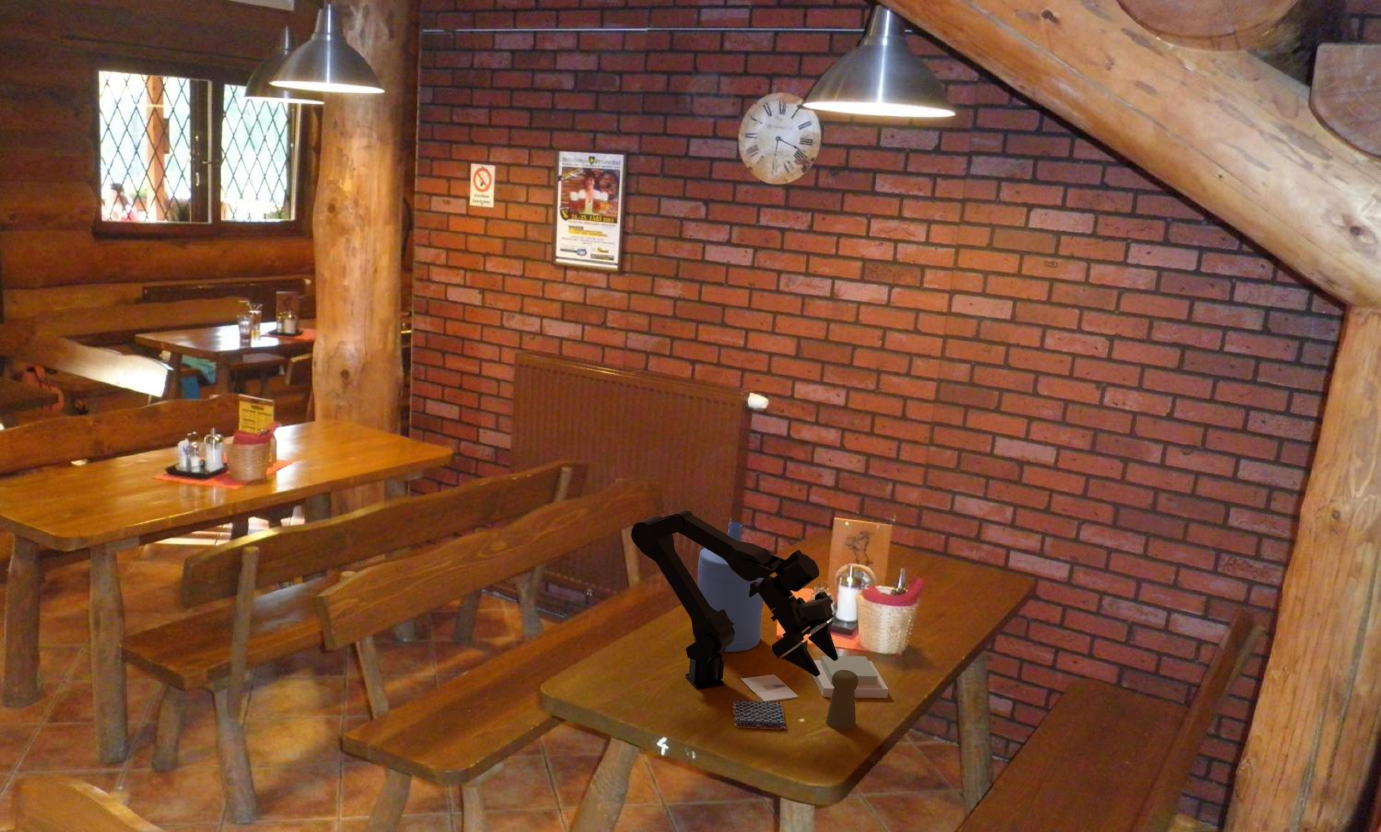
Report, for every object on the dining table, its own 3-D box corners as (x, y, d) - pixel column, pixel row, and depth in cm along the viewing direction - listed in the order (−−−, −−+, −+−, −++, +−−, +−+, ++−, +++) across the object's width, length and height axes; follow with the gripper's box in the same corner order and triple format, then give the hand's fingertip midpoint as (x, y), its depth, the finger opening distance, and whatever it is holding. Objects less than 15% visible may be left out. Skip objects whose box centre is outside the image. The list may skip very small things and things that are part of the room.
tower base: (822, 696, 247) (824, 679, 247) (809, 668, 261) (810, 651, 260) (887, 697, 249) (889, 680, 248) (870, 669, 263) (872, 652, 262)
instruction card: (762, 702, 243) (763, 700, 243) (740, 679, 253) (740, 678, 253) (798, 697, 246) (798, 696, 246) (774, 675, 256) (774, 673, 256)
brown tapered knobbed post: (854, 732, 233) (860, 681, 231) (824, 727, 234) (829, 676, 232) (856, 718, 239) (862, 668, 236) (827, 714, 240) (832, 664, 238)
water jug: (772, 648, 270) (782, 532, 264) (711, 657, 263) (720, 538, 257) (740, 623, 284) (749, 512, 278) (681, 630, 277) (689, 517, 271)
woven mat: (781, 708, 242) (782, 699, 242) (786, 733, 232) (787, 723, 231) (731, 706, 242) (732, 696, 241) (734, 730, 231) (734, 721, 231)
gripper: (790, 596, 227) (838, 664, 224) (828, 570, 243) (873, 633, 240) (751, 624, 232) (797, 691, 229) (791, 597, 248) (834, 659, 245)
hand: (827, 667), depth 236 cm, fingers open, 9 cm apart
